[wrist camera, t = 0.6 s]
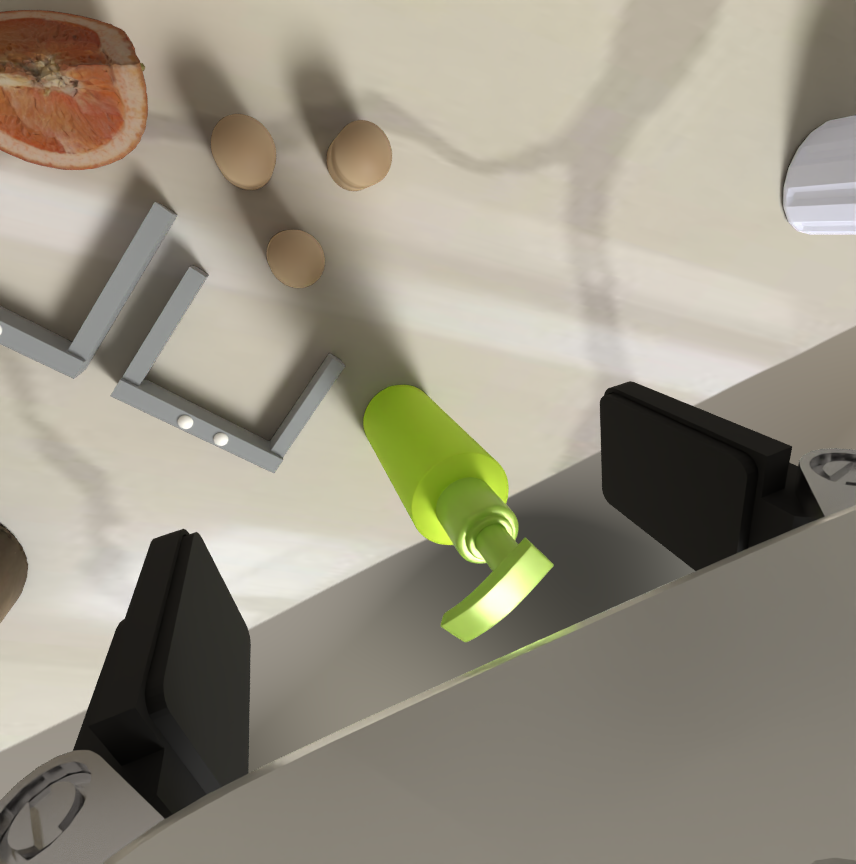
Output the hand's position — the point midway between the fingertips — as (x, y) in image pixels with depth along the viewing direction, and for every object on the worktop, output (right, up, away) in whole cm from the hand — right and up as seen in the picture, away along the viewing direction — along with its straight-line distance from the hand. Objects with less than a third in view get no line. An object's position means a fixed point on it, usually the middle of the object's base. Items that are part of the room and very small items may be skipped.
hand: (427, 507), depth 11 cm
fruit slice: (-19, +19, +15) cm, 31 cm away
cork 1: (-11, +18, +18) cm, 27 cm away
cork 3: (-5, +19, +20) cm, 28 cm away
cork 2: (-9, +13, +21) cm, 26 cm away
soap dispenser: (-3, +2, +28) cm, 28 cm away
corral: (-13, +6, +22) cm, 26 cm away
